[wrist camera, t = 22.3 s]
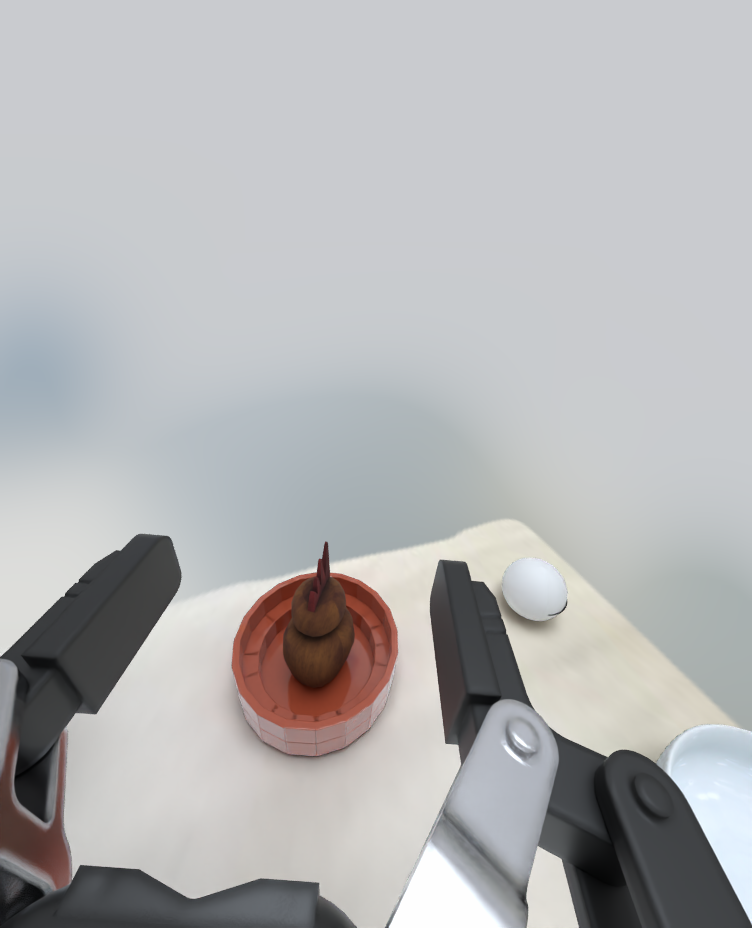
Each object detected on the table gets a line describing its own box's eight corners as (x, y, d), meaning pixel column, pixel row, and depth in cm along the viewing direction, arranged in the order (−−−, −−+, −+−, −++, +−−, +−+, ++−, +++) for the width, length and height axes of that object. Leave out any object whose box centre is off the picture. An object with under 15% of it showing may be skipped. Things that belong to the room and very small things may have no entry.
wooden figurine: (320, 624, 38) (319, 521, 30) (361, 653, 35) (371, 549, 28) (274, 675, 33) (259, 567, 25) (318, 713, 30) (316, 607, 23)
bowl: (211, 752, 28) (199, 721, 25) (268, 598, 41) (264, 567, 38) (392, 766, 28) (399, 737, 25) (391, 608, 41) (396, 577, 38)
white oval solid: (528, 645, 39) (550, 603, 35) (483, 595, 44) (497, 555, 40) (581, 612, 43) (605, 573, 39) (534, 571, 48) (551, 533, 45)
